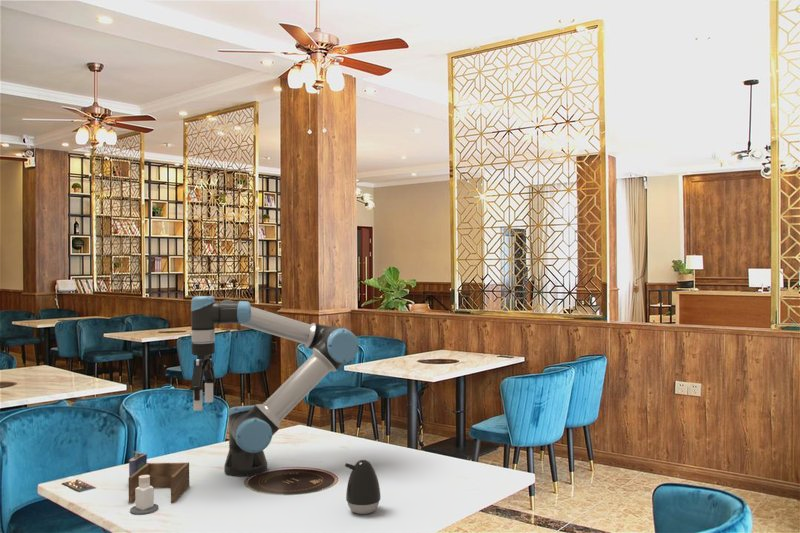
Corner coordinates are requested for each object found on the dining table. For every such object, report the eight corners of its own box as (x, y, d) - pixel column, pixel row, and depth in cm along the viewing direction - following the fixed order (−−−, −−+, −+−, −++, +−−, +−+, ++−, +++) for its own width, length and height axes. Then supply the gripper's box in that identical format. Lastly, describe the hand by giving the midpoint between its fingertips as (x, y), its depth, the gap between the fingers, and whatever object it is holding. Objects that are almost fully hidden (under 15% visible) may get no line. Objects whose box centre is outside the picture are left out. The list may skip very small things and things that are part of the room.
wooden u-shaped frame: (189, 486, 227) (189, 462, 227) (174, 502, 211) (173, 477, 211) (147, 487, 227) (147, 463, 227) (128, 503, 211) (128, 477, 211)
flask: (134, 487, 227) (134, 455, 227) (126, 487, 228) (125, 454, 228) (148, 479, 236) (148, 448, 236) (140, 478, 237) (140, 447, 237)
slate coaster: (162, 505, 209) (162, 503, 209) (153, 514, 201) (153, 512, 201) (136, 505, 209) (136, 503, 209) (125, 514, 201) (125, 512, 201)
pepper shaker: (143, 511, 202) (143, 479, 202) (134, 508, 204) (134, 477, 205) (154, 507, 206) (154, 475, 206) (145, 504, 208) (145, 473, 208)
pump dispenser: (345, 506, 207) (344, 455, 207) (379, 504, 207) (379, 454, 208) (345, 518, 196) (345, 465, 196) (381, 516, 197) (381, 464, 197)
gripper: (202, 338, 240) (202, 399, 240) (180, 346, 215) (180, 414, 215) (223, 338, 240) (224, 398, 240) (204, 346, 215) (204, 413, 215)
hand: (203, 406), depth 227 cm, fingers open, 13 cm apart
